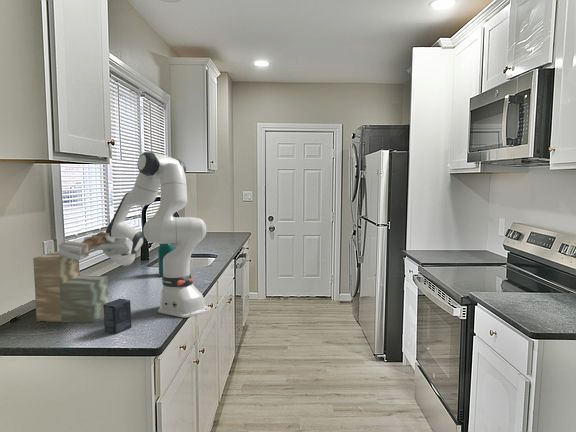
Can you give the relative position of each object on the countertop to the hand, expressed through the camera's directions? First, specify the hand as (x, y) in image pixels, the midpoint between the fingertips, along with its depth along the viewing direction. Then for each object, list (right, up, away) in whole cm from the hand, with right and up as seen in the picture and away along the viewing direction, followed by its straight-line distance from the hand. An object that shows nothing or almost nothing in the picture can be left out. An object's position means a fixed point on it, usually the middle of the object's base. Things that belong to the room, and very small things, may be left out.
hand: (99, 236), depth 182 cm
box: (+18, -33, -25) cm, 45 cm away
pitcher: (+12, -25, +61) cm, 67 cm away
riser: (-7, -32, -10) cm, 34 cm away
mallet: (-2, -4, -6) cm, 8 cm away
